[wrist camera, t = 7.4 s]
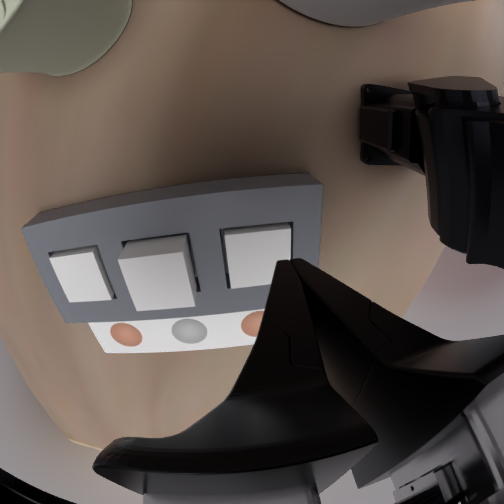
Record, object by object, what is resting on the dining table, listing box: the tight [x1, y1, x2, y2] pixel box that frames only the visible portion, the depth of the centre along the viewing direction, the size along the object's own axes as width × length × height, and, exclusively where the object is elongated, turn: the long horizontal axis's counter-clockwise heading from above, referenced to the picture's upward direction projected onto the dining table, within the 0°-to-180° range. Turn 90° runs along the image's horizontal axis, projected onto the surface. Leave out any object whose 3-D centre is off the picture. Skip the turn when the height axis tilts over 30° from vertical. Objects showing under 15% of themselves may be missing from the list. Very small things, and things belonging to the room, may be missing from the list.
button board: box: [22, 173, 323, 323], centre depth 20 cm, size 23×10×3 cm, turn 93°
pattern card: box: [88, 309, 264, 353], centre depth 26 cm, size 22×6×1 cm, turn 93°
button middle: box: [118, 234, 197, 311], centre depth 18 cm, size 4×4×2 cm
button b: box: [224, 222, 291, 289], centre depth 20 cm, size 4×4×2 cm
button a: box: [49, 245, 115, 302], centre depth 19 cm, size 4×4×2 cm
